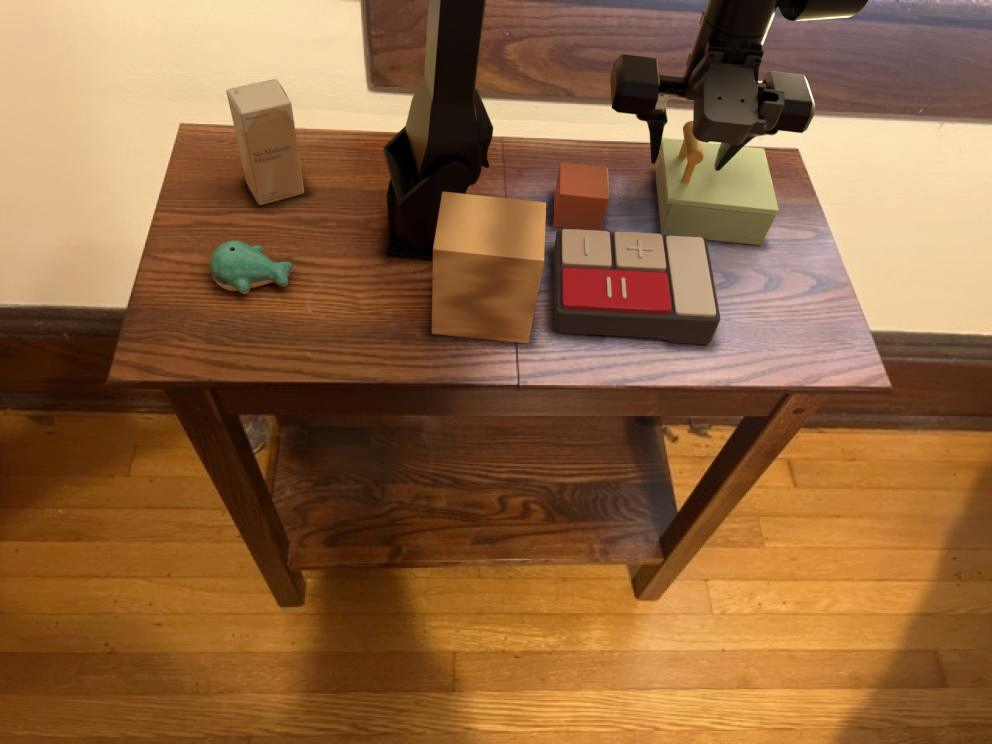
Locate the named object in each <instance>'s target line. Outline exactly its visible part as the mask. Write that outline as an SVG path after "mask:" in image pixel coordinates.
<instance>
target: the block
mask: <svg viewBox="0 0 992 744" xmlns="http://www.w3.org/2000/svg"><path fill="white" fill-rule="evenodd" d="M608 169H609V168H608V166H599V165H589V164H581V163H570V162H561V161H560V162H559V168H558V173H557V179H556V183H555V189H554V194H553V198H554V199H553V228H560V229H562V228H563V229H576V230H595V231H602V226H603V222H604V219H605V215H606V211H607V208H608V203H609V200H610V195H609V191H610V190H609V170H608Z"/></svg>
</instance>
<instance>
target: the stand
mask: <svg viewBox="0 0 992 744" xmlns="http://www.w3.org/2000/svg"><path fill="white" fill-rule="evenodd" d="M546 216H547V202H546V201H545V202H543V201H536V200H535V201H534V200H526V199H525V200H524V199H517V198H506V197H497V196H490V195H489V196H488V195H481V194H480V195H479V194H469V193H465V194H461V193H452V192H442V197H441V203H440V209H439V215H438V221H437V227H436V234H435V240H434V246H433V260H432V281H431V282H432V287H431V288H432V291H431V293H432V294H431V295H432V296H431V334H432V335H441V336H450V337H460V338H467V339H469V338H470V339H480V340H489V341H499V342H508V343H509V342H510V343H518V344H529V341H530V336H531V331H532V326H533V320H534V317H535V316H534V315H535V310H536V304H537V300H538V296H539V295H538V294H539V289H540V284H541V278H542V274H543V268H544V263H545V244H546V243H545V242H546Z"/></svg>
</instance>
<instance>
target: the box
mask: <svg viewBox="0 0 992 744" xmlns="http://www.w3.org/2000/svg"><path fill="white" fill-rule="evenodd" d="M225 93H226V97H227V101H228V106H229V110H230V115H231V119H232V123H233V128H234V132H235V137H236V141H237V142H236V143H237V146H238V151H239V155H240V160H241V165H242V170H243V174H244V179H245V182H246V184H247V186H248V188H249V191H250V192H251V194H252V196H253V198H254V199H255V201H256V203H257V205H259V206H263V205H267V204H271V203H274V202H279V201H282V200H286V199H290V198H294V197H297V196H300V195H303V194H305V186H304V181H303V173H302V166H301V159H300V153H299V146H298V139H297V133H296V126H295V124H296V123H295V119H294V117H295V116H294V111H293V105H292V101H291V99H290V97H289V96H288V94H287V92H286V91H285V89H284V88H283V86H282V84H281V82H280V81H279V79H276V78H272V79H269V80H268V79H267V80H262V81H259V82H253V83H248V84H244V85H241V86H236V87H231V88H226V90H225Z"/></svg>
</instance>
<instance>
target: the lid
mask: <svg viewBox="0 0 992 744" xmlns="http://www.w3.org/2000/svg"><path fill="white" fill-rule="evenodd" d="M692 128H693V120H689V121H687V122H685V123H684V124H683V126H682V135H683V139H679V138H671V137H670V138H669V137H662V141H661V146H660V153H661V155H662V165H663V174H664V184H665V193H666V203H667V204H675V205H685V206H694V207H703V208H713V209H722V210H731V211H740V212H750V213H759V214H768V215H776V216H777V215H778V213H779V212H780V211H779V206H778V201H777V197H776V193H775V189H774V184H773V181H772V176H771V171H770V168H769V167H770V166H769V163H768V159H767V158H768V157H767V154H766V151H765V148H761V147H751V146H744V147H743V148H741V149H740V150H739V151H738V152H737V153H736V154H735V156H734V157H733V158H732V159H731V160H730V161H729V162H728V163H727V164H726V165H725V166H724V167H723V168H722V169H721V170H720V171H715V167H714V164H715V160H716V157H717V153H718V150H719V147H720V145H721V143H718V142H701V141H699V140H697V139H696V138H695V137H694V135H693V132H692Z"/></svg>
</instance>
